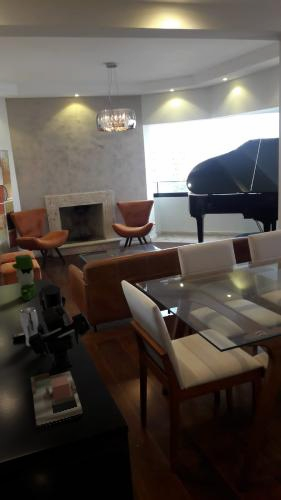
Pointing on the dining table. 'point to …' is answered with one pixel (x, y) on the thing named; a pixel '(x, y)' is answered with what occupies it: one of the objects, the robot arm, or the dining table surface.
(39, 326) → the vaping device
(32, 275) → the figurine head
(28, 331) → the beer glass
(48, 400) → the deck
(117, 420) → the dining table surface
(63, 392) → the red block
